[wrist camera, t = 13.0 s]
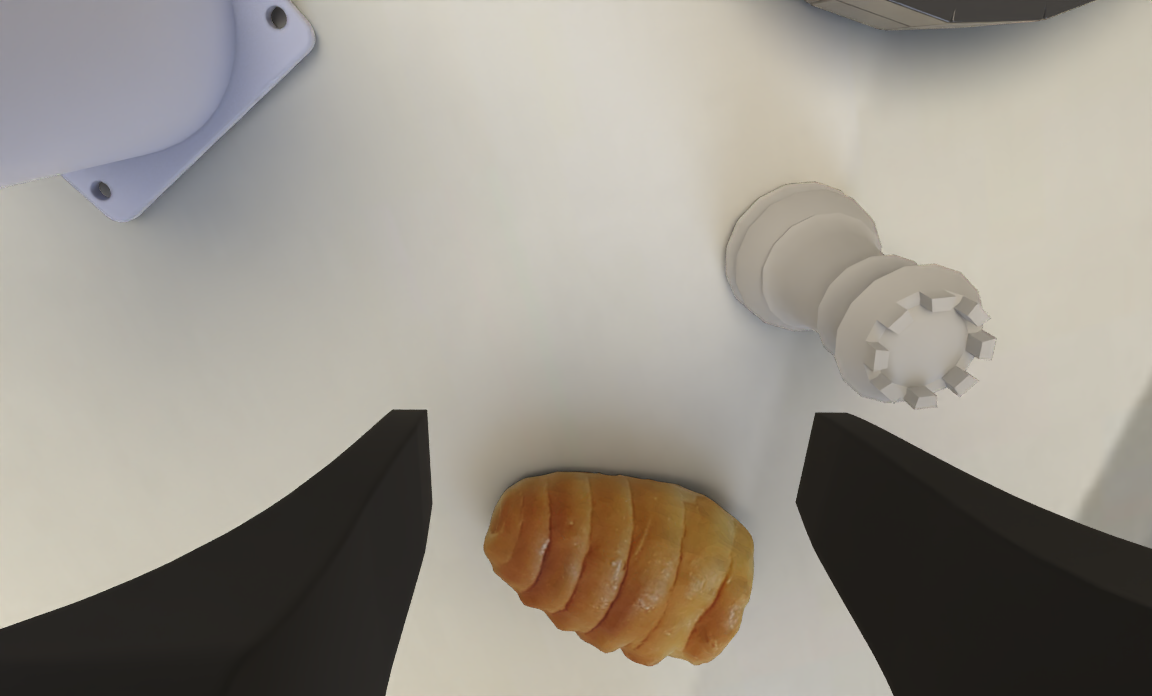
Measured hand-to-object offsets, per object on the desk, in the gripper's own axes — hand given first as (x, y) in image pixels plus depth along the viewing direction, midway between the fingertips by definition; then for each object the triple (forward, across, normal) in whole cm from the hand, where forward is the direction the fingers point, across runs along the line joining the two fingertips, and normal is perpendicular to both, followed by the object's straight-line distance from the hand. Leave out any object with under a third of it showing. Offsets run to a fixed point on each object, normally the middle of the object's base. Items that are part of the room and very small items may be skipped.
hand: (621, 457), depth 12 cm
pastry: (+10, -2, +10) cm, 14 cm away
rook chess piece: (+10, -6, -2) cm, 12 cm away
